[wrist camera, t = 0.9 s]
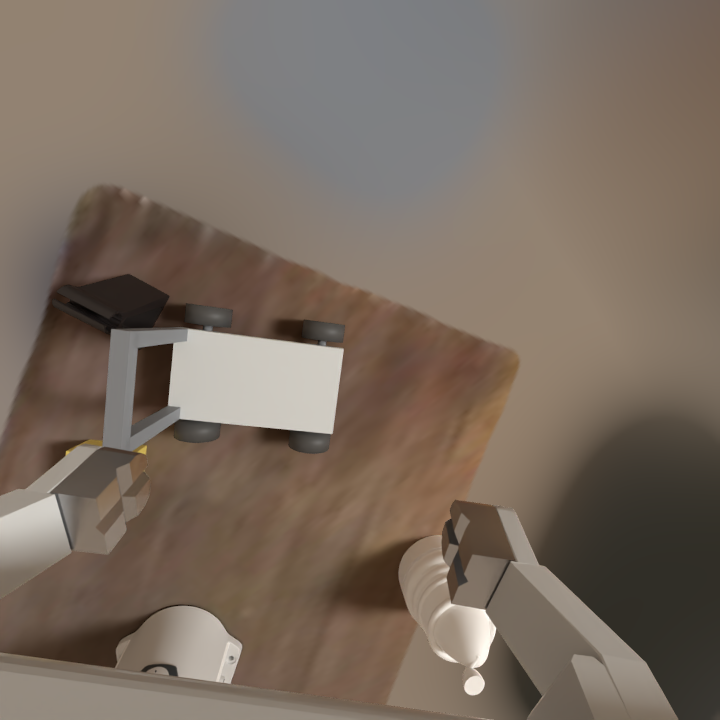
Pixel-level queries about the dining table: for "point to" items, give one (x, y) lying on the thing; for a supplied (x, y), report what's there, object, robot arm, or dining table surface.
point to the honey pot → (444, 611)
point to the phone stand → (114, 303)
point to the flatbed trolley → (228, 382)
